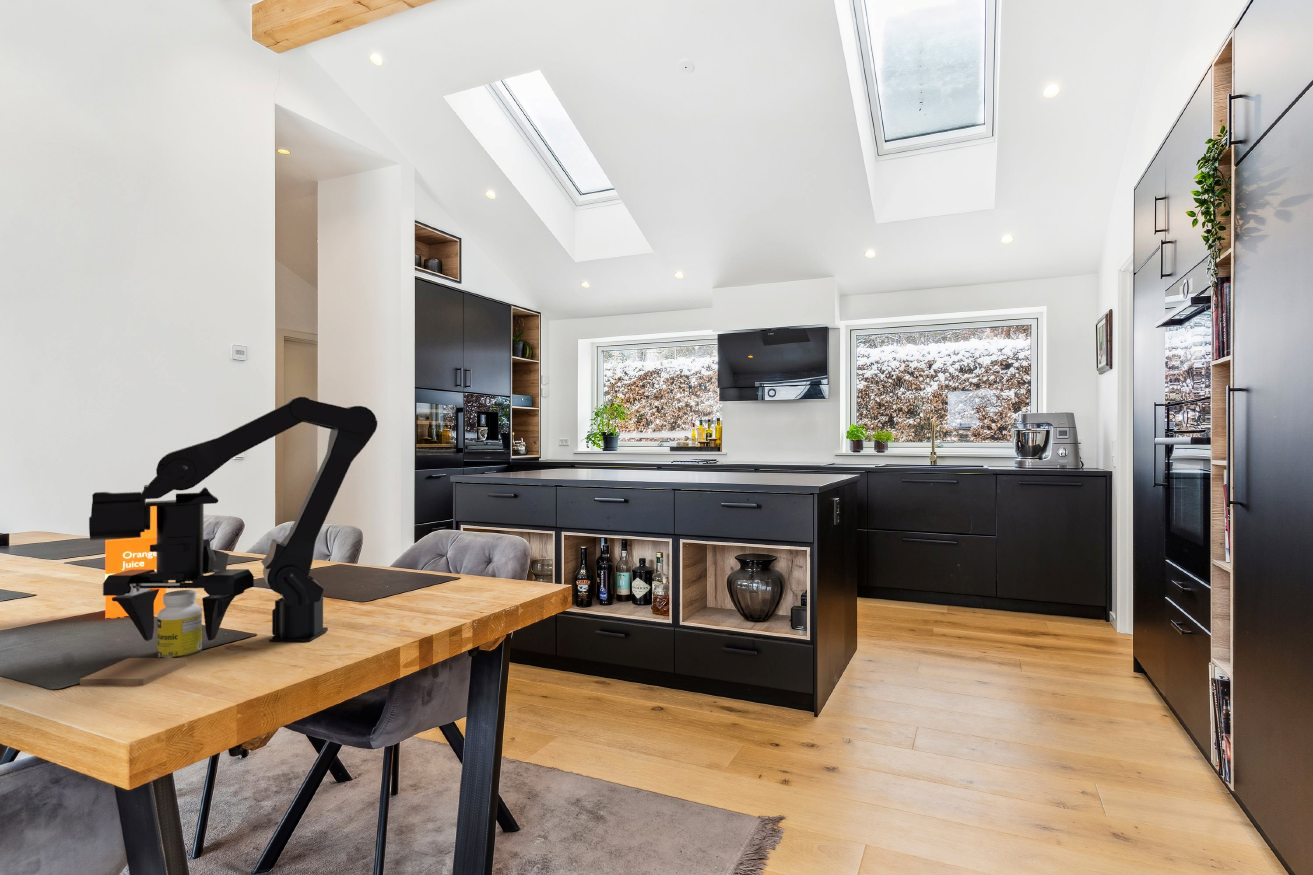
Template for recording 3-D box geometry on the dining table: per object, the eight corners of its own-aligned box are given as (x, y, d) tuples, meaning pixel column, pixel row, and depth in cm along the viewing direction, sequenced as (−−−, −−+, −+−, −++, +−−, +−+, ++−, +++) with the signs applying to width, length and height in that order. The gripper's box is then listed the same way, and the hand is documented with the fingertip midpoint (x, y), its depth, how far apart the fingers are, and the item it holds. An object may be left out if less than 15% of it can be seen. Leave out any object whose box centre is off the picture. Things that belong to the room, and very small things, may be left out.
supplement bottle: (148, 661, 98) (148, 594, 98) (186, 650, 103) (186, 587, 103) (172, 666, 96) (172, 598, 96) (210, 655, 101) (210, 590, 101)
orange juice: (106, 613, 124) (107, 506, 124) (165, 606, 130) (165, 503, 130) (104, 622, 118) (105, 509, 118) (166, 614, 123) (166, 506, 123)
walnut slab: (186, 675, 93) (186, 657, 93) (143, 698, 85) (143, 678, 85) (128, 675, 93) (128, 658, 93) (79, 698, 85) (79, 679, 85)
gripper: (273, 527, 108) (273, 624, 108) (156, 527, 107) (156, 624, 107) (231, 538, 96) (231, 646, 96) (99, 538, 96) (99, 646, 96)
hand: (180, 639), depth 99 cm, fingers open, 9 cm apart
